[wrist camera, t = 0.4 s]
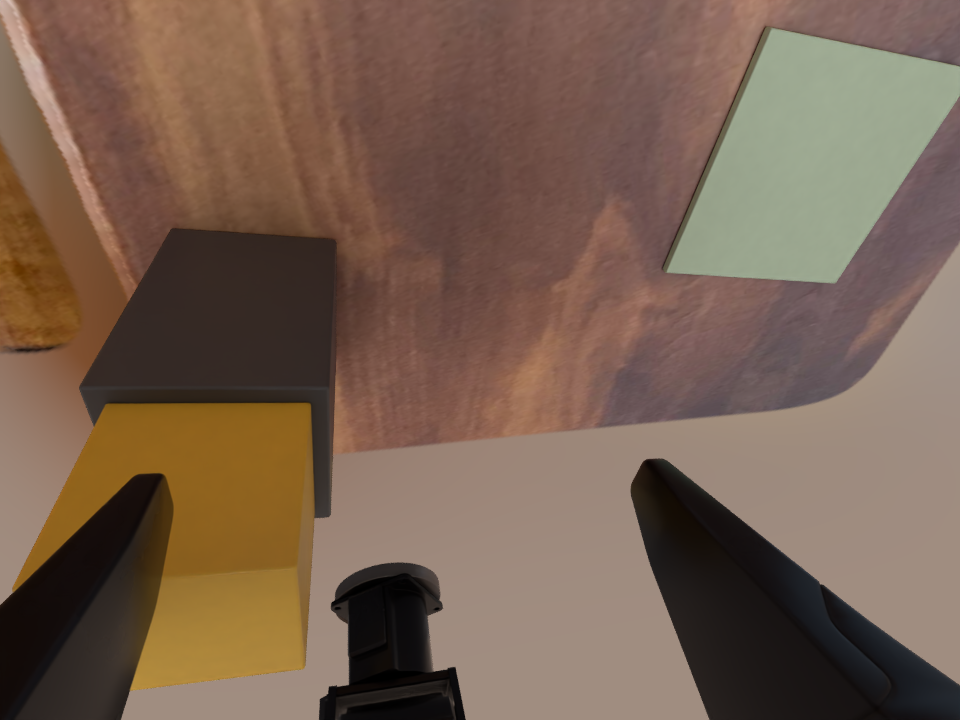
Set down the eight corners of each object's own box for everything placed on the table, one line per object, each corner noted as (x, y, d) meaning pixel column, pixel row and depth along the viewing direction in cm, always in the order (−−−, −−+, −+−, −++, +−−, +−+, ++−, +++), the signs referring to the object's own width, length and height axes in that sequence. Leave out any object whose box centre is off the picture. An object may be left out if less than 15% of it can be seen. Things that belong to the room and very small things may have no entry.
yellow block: (311, 401, 15) (296, 567, 11) (314, 510, 18) (305, 670, 14) (104, 402, 13) (8, 590, 10) (147, 519, 16) (86, 697, 13)
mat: (968, 67, 22) (977, 69, 21) (830, 279, 28) (835, 283, 27) (765, 26, 19) (772, 28, 19) (662, 269, 25) (666, 273, 25)
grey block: (336, 238, 21) (329, 387, 14) (336, 355, 25) (330, 518, 18) (170, 227, 20) (76, 387, 13) (196, 353, 23) (132, 529, 17)
